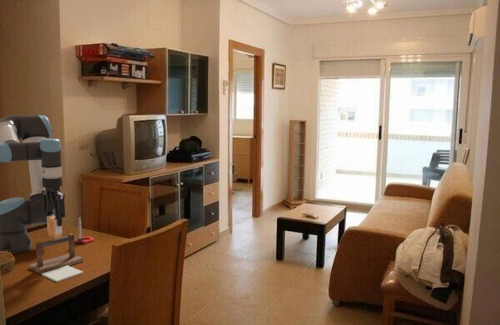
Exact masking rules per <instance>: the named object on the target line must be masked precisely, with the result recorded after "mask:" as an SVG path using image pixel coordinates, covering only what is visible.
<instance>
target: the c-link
mask: <svg viewBox="0 0 500 325" xmlns="http://www.w3.org/2000/svg"><path fill="white" fill-rule="evenodd" d="M47 218H48V228H47V234H48V235H47V236H48V237H53V239H58V238H62V237H63V232H62V233H61V234H57V235H56V234H55V221H54V218H56V217H55V216H51V217H47Z"/></svg>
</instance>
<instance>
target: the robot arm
mask: <svg viewBox="0 0 500 325" xmlns="http://www.w3.org/2000/svg"><path fill="white" fill-rule="evenodd" d="M52 132H53V131H52V126H51V122H50V120H49V118H48V117H47V116H46V115H42V114H41V115H40V114H28V115H27V114H26V115H25V114H24V115H22V114H21V115H19V114H17V115H16V114H14V115H13V114H11V115H8V116H5V117H2V118H0V163H11V162H24V161H25V162H26V161H28V170H29V179H30V187H31V194H30V195H29V196H28V199H27V200H26V199H25V198H24V197H21V196H19V197H11V198H7V199H4V200H1V201H0V251H8V252H11V253H13V255H18V254H22V253H25V252H28V251H30V250H31V249H32V248H33V245H32V244H33V243H32V240H31V237H30V236H29V234H28V231H27V229H28V228H27V226H35V225H42V224H43V225H44V224H46V225H47V226H46V227H47V229H48V218H47V217H51V216H55V217H56V218H54V221H55V234H56V235H57V234H61V233H62V234H63V218H65V217H66V205H65V197H66V194H65V193H62V192H61V189H60V188H61V187H62V186H63V184H64V183H63V177H62V176H63V165H62V146H61V140H60V139H59V138H52V134H53V133H52ZM20 140H22V142H20Z"/></svg>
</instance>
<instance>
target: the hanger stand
mask: <svg viewBox="0 0 500 325" xmlns="http://www.w3.org/2000/svg"><path fill="white" fill-rule="evenodd" d="M74 240H75V234H74V233H73V232H72V233H68V234H67V236H62V237H59V238H53V239H51V240H47V241H44V242H41V241H37V242H35V251H36V262H35V263H32V264H28V268H29V269H30V270H31V271H34V272H36V273H38V274H41V275H42V273H45V272H48V271H51V270H55V269H58V268H61V267H64V266H67V265H68V266H70V267H71V266H72V265H76V264H79V263H81V262H84V257H81V256H79V255H77V254H75V253H76V251H75V243H74ZM65 242H68V253H65V254H62V255H58V256H55V257H51V258H47V259H45V260H44V258H43V256H44V255H43V248H47V247H50V246H54V245H57V244H61V243H65Z"/></svg>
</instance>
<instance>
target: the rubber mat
mask: <svg viewBox="0 0 500 325" xmlns="http://www.w3.org/2000/svg"><path fill="white" fill-rule="evenodd" d="M82 274H84V271H83V270H81V269H77V268H76V267H73V266H71V265H70V266H68V265H67V266H64V267H61V268H58V269H55V270H51V271H48V272H45V273H42V274H41V276H42V277H45V278H47V279H49V280H51V281H53V282H56V283H59V282H61V281H65V280H68V279H70V278H73V277H76V276H78V275H82Z"/></svg>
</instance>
